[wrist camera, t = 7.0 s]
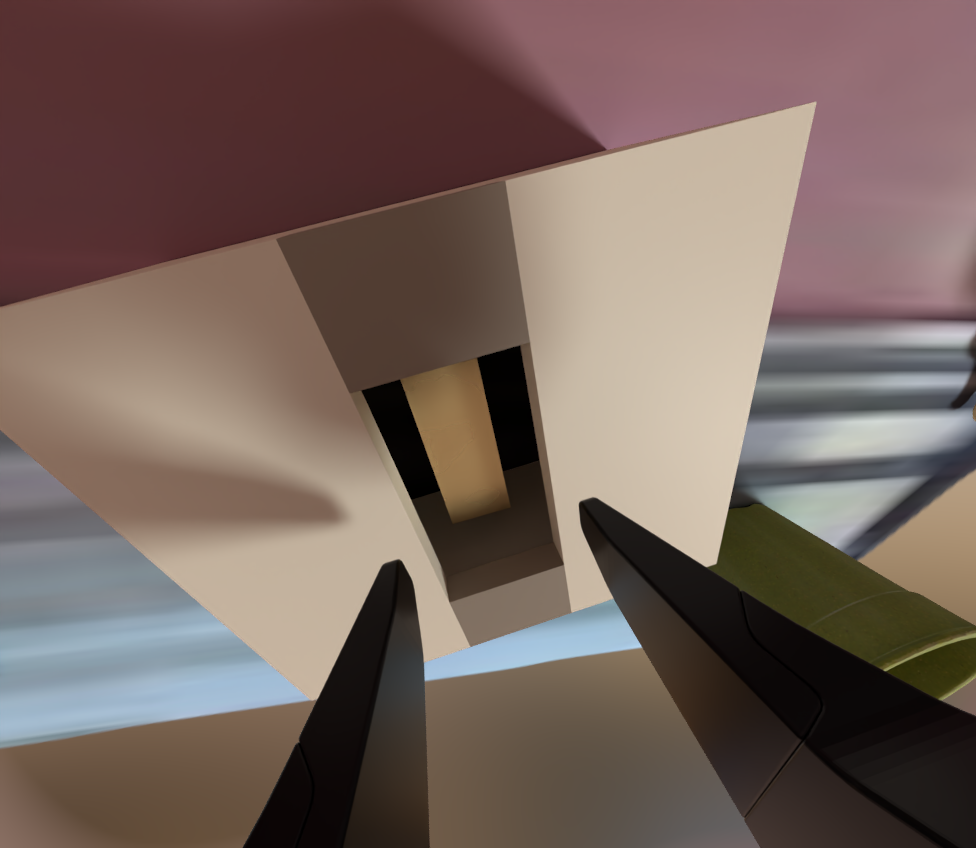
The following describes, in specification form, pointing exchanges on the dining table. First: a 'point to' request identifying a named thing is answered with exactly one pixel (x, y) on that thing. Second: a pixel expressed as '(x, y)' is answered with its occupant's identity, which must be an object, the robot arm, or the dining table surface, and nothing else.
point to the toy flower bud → (974, 413)
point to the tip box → (414, 350)
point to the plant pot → (846, 601)
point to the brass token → (459, 438)
